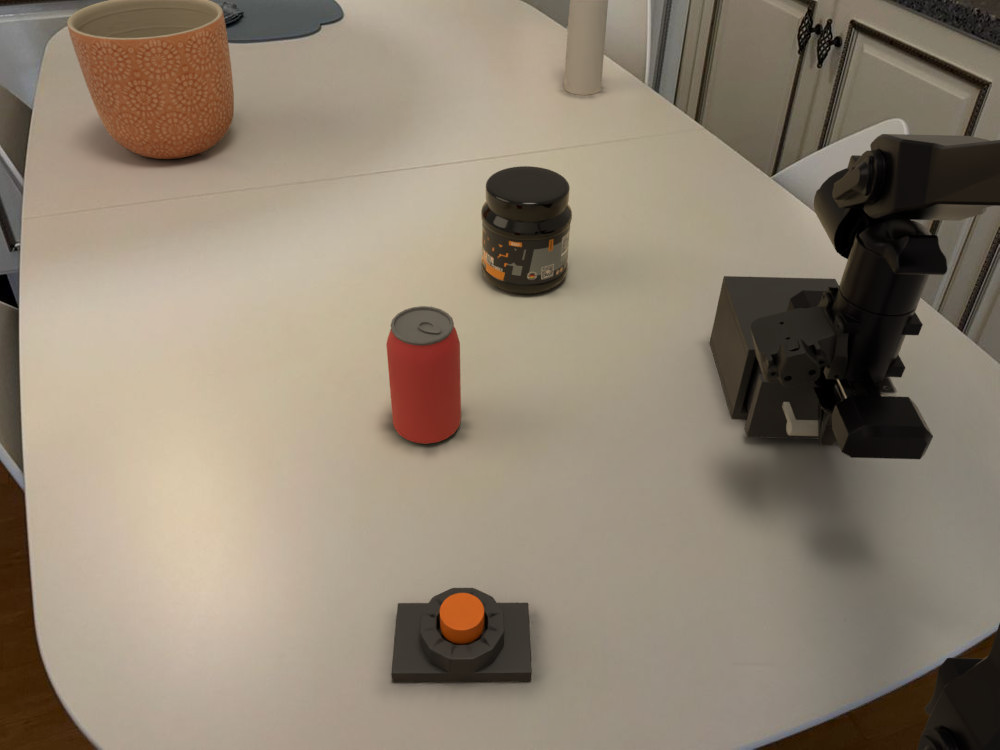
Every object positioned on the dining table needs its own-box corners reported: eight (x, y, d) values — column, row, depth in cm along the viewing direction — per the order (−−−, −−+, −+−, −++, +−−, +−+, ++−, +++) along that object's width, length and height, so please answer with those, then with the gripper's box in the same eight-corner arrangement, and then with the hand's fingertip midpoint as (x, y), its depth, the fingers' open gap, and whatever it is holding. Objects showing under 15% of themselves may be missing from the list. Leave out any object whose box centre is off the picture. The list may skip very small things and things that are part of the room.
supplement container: (471, 257, 107) (471, 168, 99) (551, 246, 109) (556, 159, 102) (494, 303, 99) (495, 211, 92) (579, 291, 101) (587, 199, 94)
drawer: (869, 469, 78) (892, 413, 73) (755, 466, 78) (771, 410, 74) (823, 364, 90) (840, 311, 85) (724, 362, 90) (736, 308, 85)
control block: (527, 611, 66) (529, 587, 64) (531, 682, 62) (532, 658, 60) (398, 611, 66) (396, 587, 64) (392, 683, 61) (389, 659, 59)
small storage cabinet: (849, 421, 84) (874, 352, 79) (731, 418, 84) (748, 349, 79) (814, 344, 94) (835, 278, 88) (709, 342, 94) (723, 275, 89)
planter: (120, 185, 121) (81, 48, 109) (92, 132, 134) (55, 5, 122) (263, 155, 129) (241, 24, 117) (223, 108, 143) (200, -13, 131)
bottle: (605, 84, 154) (621, -89, 136) (595, 97, 149) (610, -81, 131) (570, 79, 156) (581, -93, 138) (559, 91, 151) (569, -85, 133)
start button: (484, 606, 64) (484, 592, 62) (484, 644, 61) (484, 630, 60) (441, 607, 63) (440, 592, 62) (439, 644, 61) (438, 630, 60)
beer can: (434, 457, 79) (429, 355, 72) (379, 430, 82) (369, 328, 74) (474, 418, 84) (474, 317, 76) (420, 393, 86) (415, 294, 79)
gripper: (747, 230, 72) (714, 373, 82) (803, 368, 58) (755, 521, 68) (879, 233, 72) (830, 376, 82) (968, 372, 58) (896, 525, 68)
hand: (825, 442), depth 75 cm, fingers closed
